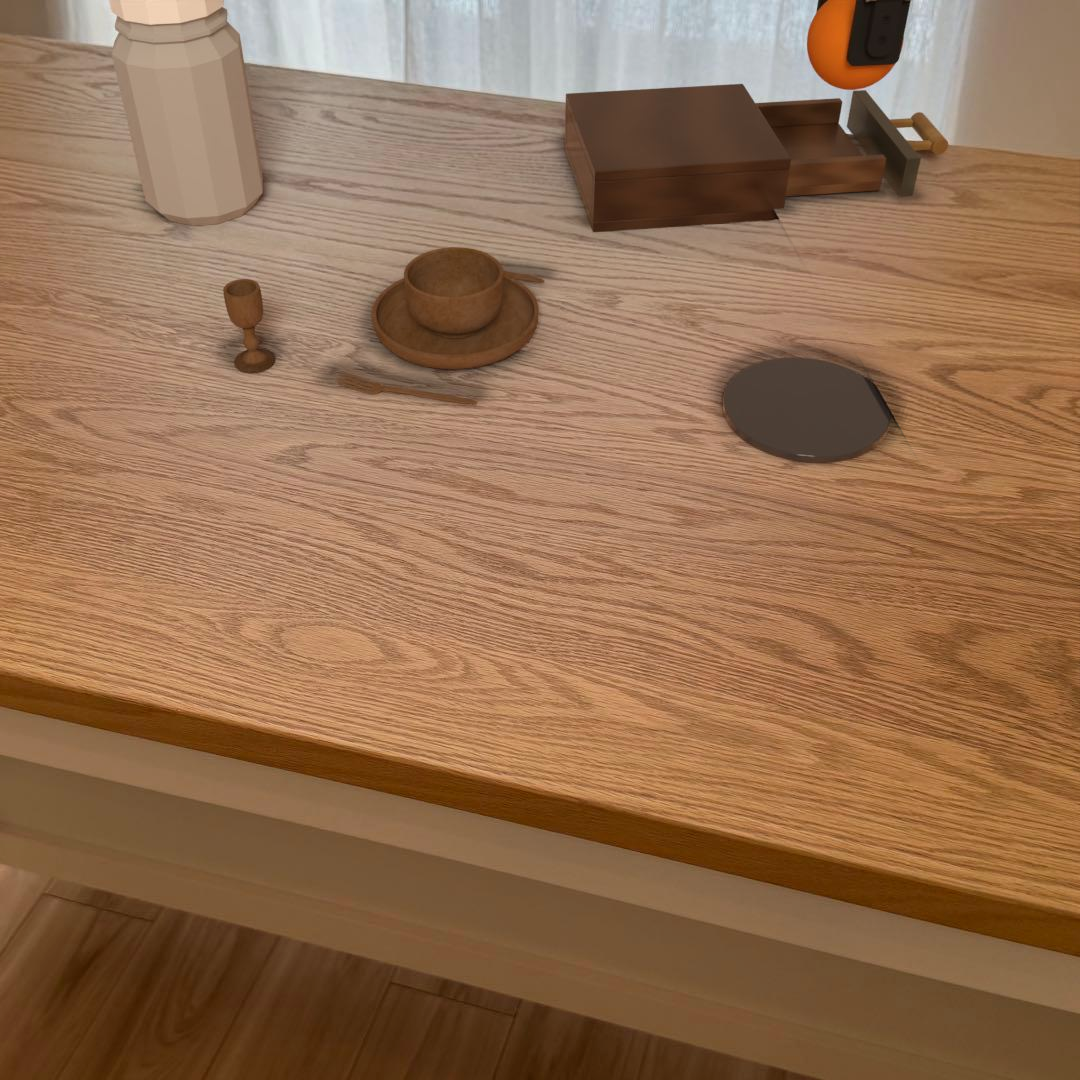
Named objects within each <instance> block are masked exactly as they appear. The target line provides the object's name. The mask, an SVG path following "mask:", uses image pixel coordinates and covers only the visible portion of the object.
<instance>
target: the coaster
mask: <svg viewBox="0 0 1080 1080" xmlns="http://www.w3.org/2000/svg"><path fill="white" fill-rule="evenodd" d="M722 413H723V416H724V417H725V420H726V423H727V424H728V426H729V427H730V429H732V431H733V432H734V433H735V434H736V435H737V436H738V437H739V438H740V439H742V440H743V441H744V442H745V443H747V444H749V445H750V446H752V447H753V448H755V449H757V450H759V451H761V452H763V453H766V454H769V455H772V456H774V457H776V458H781V459H783V460H787V461H794V462H798V463H807V464H830V463H831V464H832V463H839V462H845V461H849V460H852V459H855V458H858V457H860V456H863V455H866V454H867V453H870V452H871V451H873V450H874V449H875V448H877V446H878V445H879V444H880V443H882V441H884V439H885V437H886V436H887V433H888V432H889V428H890V424H891V420H892V411H891V409H890V407H889V405H888V403H887V402H886V400H885V398H884V397H883V395H882V392H881V391H880V390H879V387H878V386H877V385H876V384H875V383H874V382H872V381H871V380H870V379H869V378H868V377H866V376H864V375H863V374H861V373H859V372H857V371H855V370H854V369H851V368H849V367H846V366H844V365H841V364H838V363H835V362H831V361H828V360H823V359H818V358H810V357H799V356H797V357H795V356H794V357H793V356H791V357H790V356H789V357H778V358H770V359H766V360H762V361H759V362H756V363H753V364H750V365H749V366H747V367H745V368H743V369H742V370H739V372H737V373H736V374H735V375H733V376H732V378H731V379H730V380H729V381H728V383H727V385H726V386H725V389H724V391H723V397H722Z"/></svg>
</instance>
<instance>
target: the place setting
mask: <svg viewBox="0 0 1080 1080" xmlns="http://www.w3.org/2000/svg"><path fill="white" fill-rule="evenodd" d="M517 279H518V280H517ZM519 280H521V281H527V282H534V283H545V279H543V278H540V277H537V276H534V275H528V274H523V273H518V272H512V271H508V270H504V269H503V266H502V264H501V263H500V261H499V260H498V259H497V258H495V257H494V256H492V255H490V253H487V252H484V251H482V250H479V249H475V248H470V247H462V246H461V247H459V246H453V247H452V246H451V247H441V248H436V249H431V250H429V251H426V252H422V253H421V254H419V255H418V256H416V257H414V258H413V259H412V260H410V262H409V263H407V265H406V267H405V268H404V271H403V278H401V279H399V280H397V281H395V282H394V283H392V284H390V285H389V286H387V287H386V288H385V289H384V290H383V291H382V292H381V293H380V294H379V295H378V296H377V298H376V299H375V301H374V303H373V305H372V309H371V321H372V326H373V330H374V332H375V334H376V336H377V338H378V340H380V342H381V344H382V345H383V346H384V347H385V348H386V349H387V350H389V351H390V352H391V353H393V354H394V355H396V356H397V357H399V358H401V359H403V360H405V361H407V362H410V363H412V364H414V365H415V364H416V365H419V366H422V367H426V368H432V369H441V370H466V369H467V370H468V369H472V368H473V369H474V368H479V367H483V366H487V365H491V364H494V363H497V362H499V361H501V360H504V359H506V358H508V357H510V356H512V355H513V354H515V353H516V352H518V351H519V350H520V349H521V348H523V347H524V346H525V345H526V344H527V343H528V342H529V341H530V339H531V338H532V337H533V335H534V333H535V331H536V329H537V326H538V322H539V316H540V315H539V313H540V307H539V303H538V300H537V298H536V296H535V295H534V294H533V292H532V290H530V288H528V287H527V286H526V285H524V284H523V282H521V281H519ZM222 291H223V298H224V299H223V300H224V303H225V307H226V313H227V315H228V317H229V320H230V322H231V323H232V324H233V325H234V326H235V327H238V328H241V329H242V332H243V334H244V336H243V341H242V343H243V346H244V347H245V350H243V351H241V352H239V353H238V354H237V355H236V356H235V358H234V360H233V364H234V366H235V368H236V369H237V370H238V371H240V372H243V373H246V374H257V373H261V372H264V371H268V370H269V369H271V368H272V366H274V364H275V362H276V355H275V354H274V353H273V352H272V351H271V350H269V349H267V348H260V347H259V346H260V340H259V339H260V338H259V337H258V336H257V333H256V327H257V326H258V325H259V324H260V323H261V322H262V320H263V317H264V304H263V296H262V291H261V286H260V284H259V282H257V281H255V280H254V279H250V278H249V279H248V278H239V279H234V280H232V281H229V282H228V283H226V284H225V285H224V287H223V289H222ZM340 373H342V374H339V376H340V377H337V379H338V380H339V381H338V380H335V382H336V383H337V384H340V385H342V386H345V387H347V388H349V389H352V390H355V391H357V392H361V393H363V394H368V395H377V394H379V393H382V392H392V393H398V394H403V395H408V396H414V397H420V398H426V399H432V400H437V401H443V402H450V403H457V404H462V405H463V404H465V405H477V404H478V401H477V400H475V399H470V398H464V397H459V396H453V395H448V394H447V395H446V394H442V393H435V392H431V391H430V392H429V391H424V390H418V389H411V388H407V387H400V386H393V385H382V384H380V383H379V382H375V381H371V380H368V379H366V378H363V377H360V376H357V375H354V374H352V373H348V372H345V371H340ZM341 377H342V378H341Z"/></svg>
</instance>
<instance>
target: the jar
mask: <svg viewBox="0 0 1080 1080" xmlns="http://www.w3.org/2000/svg"><path fill="white" fill-rule="evenodd" d="M224 1H225V0H108V2H109V6H110V10H111V13H113V14H114V15H116V19H115V22H114V29H115V31H116V32H118V33H117V35H116V38H115V39H114V41H113V46H112V50H111V57H112V63H113V66H114V70H115V75H116V79H117V84H118V88H119V92H120V96H121V100H122V105H123V111H124V114H125V117H126V122H127V127H128V131H129V134H130V139H131V143H132V147H133V152H134V156H135V160H136V161H135V162H136V165H137V169H138V173H139V178H140V183H141V187H142V192H143V195H144V201H145V202H146V203H147V204H148V205H150V206H151V207H152V208H154V210H156V211H157V212H158V213H159V214H161V215H162V216H163V217H164V218H166V219H167V220H168V221H169V222H172V223H178V224H183V225H188V226H191V227H194V226H208V225H209V226H210V225H220V224H222V223H225V222H228V221H231V220H234V219H237V218H240V217H242V216H243V215H245V214H247V212H248V211H250V210H251V209H252V208H253V207H254V206H255V205H256V203H258V201H259V200H260V197H262V195H263V193H264V177H263V171H262V165H261V159H260V158H261V157H260V152H259V147H258V140H257V134H256V128H255V122H254V115H253V109H252V103H251V97H250V90H249V84H248V78H247V71H246V66H245V64H246V63H245V58H244V53H243V45H242V40H241V34H240V33H239V32H238V31H237V30H236V28H234V26H232V25H231V23H229V22H228V9H227V8H225V7H224V4H225V3H224Z"/></svg>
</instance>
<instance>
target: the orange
mask: <svg viewBox="0 0 1080 1080" xmlns="http://www.w3.org/2000/svg"><path fill="white" fill-rule="evenodd" d="M855 4H856V0H828V1H826V2H825V3H824V4H823V5H822V6H821V8H820V9H819V10H818V11H817V10H816V11H817V13H814V16H813V18H812V20H811V22H810V25H809V27H808V31H807V37H806V50H807V56H808V60H809V63H810V64H811V67H812V68H813V71H814V72H815V73H816V74H817V76H818V77H819V78H820V79H821V80H822V81H824V82H825V83H827V84H828V85H830V86H832V87H835V88H837V89H840V90H846V91H857V90H863V89H866V88H868V87H871V86H873V85H875V84H876V83H878V82H880V81H881V80H882V79H884V78H885V77H886V76H887V75H888V74H889V73H890V72H891V71H892V69H894V67H895V65H896V64H897V62H896V63H895V64H892V65H871V66H851V65H850V64H849V63H848V61H847V59H846V57H847V51H848V45H849V39H850V34H851V28H852V22H853V16H854V10H855ZM904 41H905V36H904V37H903V42H902V47H901V52H900V54H901V53H902V50H903V46H904Z"/></svg>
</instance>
